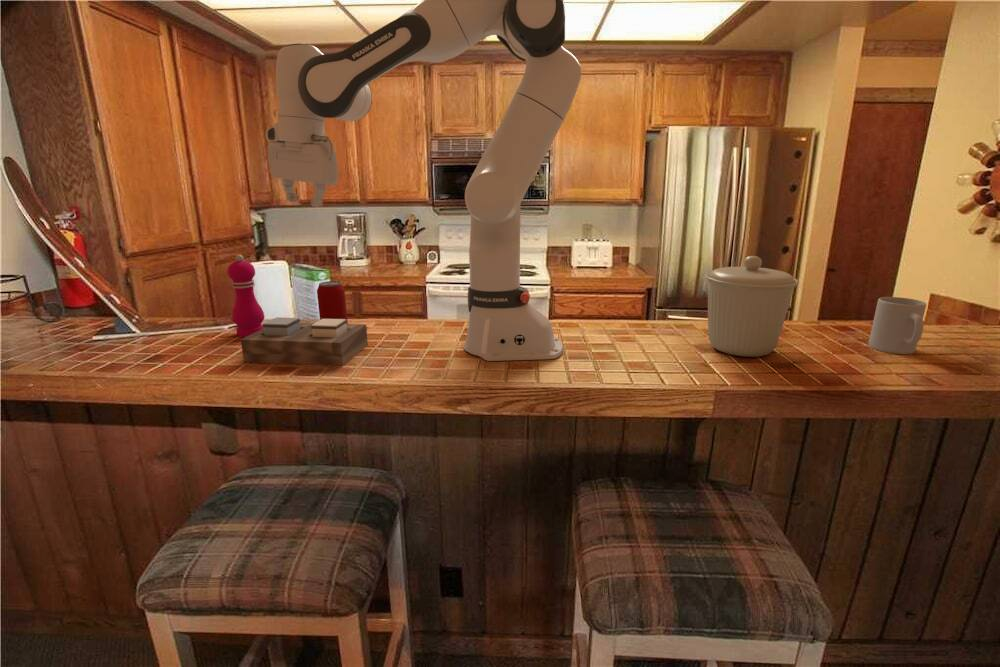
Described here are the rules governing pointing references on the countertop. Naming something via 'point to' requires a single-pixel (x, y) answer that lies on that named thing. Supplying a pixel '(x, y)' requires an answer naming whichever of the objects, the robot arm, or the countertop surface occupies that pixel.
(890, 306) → the mug
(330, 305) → the beverage can
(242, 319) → the pepper mill
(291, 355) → the frame
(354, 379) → the countertop surface
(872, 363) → the countertop surface
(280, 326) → the slate key
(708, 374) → the countertop surface
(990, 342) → the countertop surface
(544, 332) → the robot arm
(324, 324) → the cream key
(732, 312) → the canister
